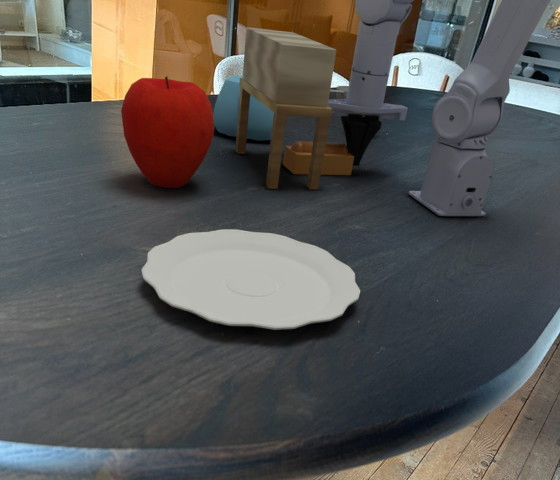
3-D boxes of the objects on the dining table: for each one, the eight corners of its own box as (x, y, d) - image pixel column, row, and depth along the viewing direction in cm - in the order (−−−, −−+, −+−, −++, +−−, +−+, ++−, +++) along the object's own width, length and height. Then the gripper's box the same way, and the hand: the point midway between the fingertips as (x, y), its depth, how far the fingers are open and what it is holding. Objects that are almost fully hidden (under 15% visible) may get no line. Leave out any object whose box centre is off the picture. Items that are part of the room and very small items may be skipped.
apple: (199, 170, 87) (203, 70, 80) (221, 197, 78) (229, 88, 71) (117, 169, 83) (114, 64, 75) (131, 198, 74) (129, 82, 67)
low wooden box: (350, 175, 95) (356, 147, 93) (293, 174, 92) (297, 145, 89) (338, 165, 99) (342, 139, 96) (282, 164, 95) (286, 136, 93)
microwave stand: (322, 190, 87) (344, 51, 76) (268, 189, 84) (284, 45, 74) (281, 152, 101) (295, 32, 91) (234, 150, 99) (243, 26, 88)
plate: (342, 253, 68) (344, 240, 67) (370, 352, 51) (375, 336, 50) (159, 235, 66) (159, 220, 65) (125, 331, 49) (124, 313, 48)
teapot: (295, 69, 111) (281, 82, 96) (287, 128, 117) (273, 149, 102) (230, 58, 112) (206, 70, 97) (226, 118, 118) (203, 138, 103)
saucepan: (385, 110, 147) (388, 93, 145) (333, 112, 137) (336, 94, 135) (354, 100, 154) (357, 84, 151) (303, 101, 143) (306, 84, 141)
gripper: (399, 71, 94) (381, 158, 102) (316, 63, 89) (303, 155, 97) (421, 80, 89) (400, 170, 96) (334, 72, 84) (318, 168, 92)
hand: (352, 163), depth 96 cm, fingers closed
